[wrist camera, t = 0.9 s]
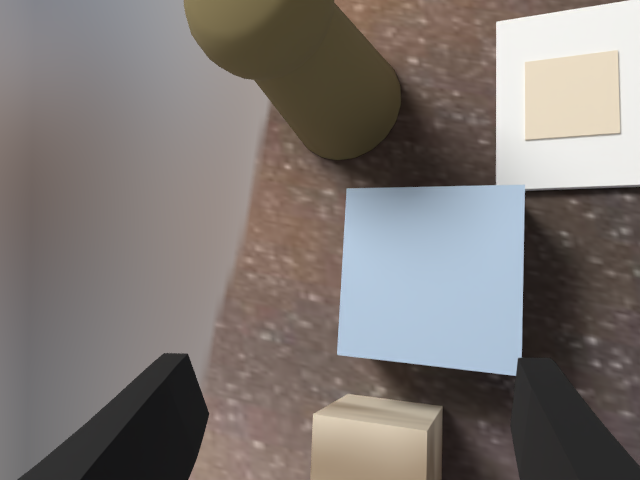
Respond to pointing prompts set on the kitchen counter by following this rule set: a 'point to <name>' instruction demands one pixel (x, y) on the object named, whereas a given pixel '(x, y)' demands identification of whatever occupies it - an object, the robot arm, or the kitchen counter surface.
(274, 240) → the kitchen counter surface
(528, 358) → the robot arm
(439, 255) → the blue base block
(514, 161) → the tile
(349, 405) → the birch block
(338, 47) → the cork
